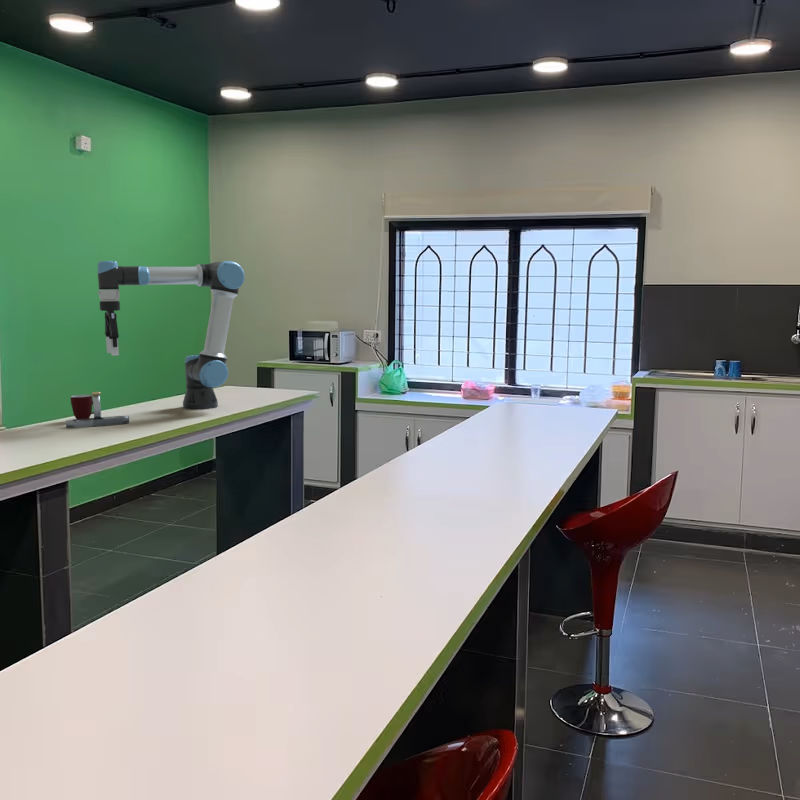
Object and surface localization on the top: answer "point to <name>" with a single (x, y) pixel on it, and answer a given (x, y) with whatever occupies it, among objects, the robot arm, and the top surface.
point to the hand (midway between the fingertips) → (112, 354)
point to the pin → (96, 405)
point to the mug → (82, 406)
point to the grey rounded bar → (97, 421)
